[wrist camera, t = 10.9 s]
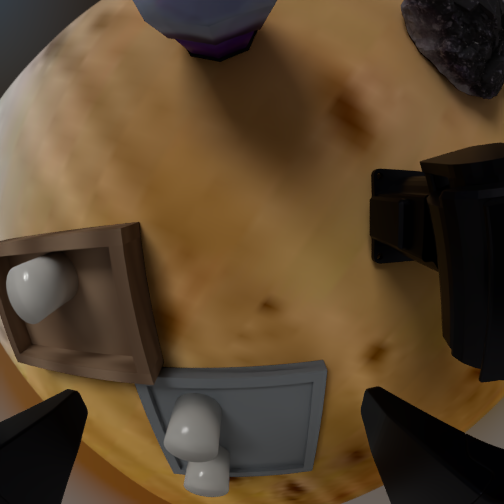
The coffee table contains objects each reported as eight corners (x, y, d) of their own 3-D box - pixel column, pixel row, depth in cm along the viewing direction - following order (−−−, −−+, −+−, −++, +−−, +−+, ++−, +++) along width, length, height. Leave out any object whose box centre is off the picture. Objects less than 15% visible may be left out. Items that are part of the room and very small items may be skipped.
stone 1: (82, 302, 18) (50, 327, 14) (47, 299, 18) (14, 320, 13) (73, 250, 17) (36, 266, 13) (38, 251, 17) (1, 266, 13)
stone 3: (233, 447, 21) (232, 483, 17) (226, 466, 22) (224, 499, 18) (191, 439, 21) (185, 475, 17) (188, 459, 22) (182, 492, 18)
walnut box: (139, 222, 18) (120, 228, 15) (163, 362, 20) (153, 385, 17) (5, 239, 17) (-16, 246, 15) (33, 347, 20) (17, 361, 17)
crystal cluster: (504, 102, 16) (566, 83, 6) (439, 107, 16) (529, 68, 6) (447, 4, 14) (492, -32, 4) (363, -13, 14) (407, -77, 4)
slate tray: (323, 359, 20) (327, 370, 19) (310, 461, 23) (312, 470, 22) (137, 365, 20) (131, 375, 19) (176, 464, 23) (174, 473, 22)
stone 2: (207, 387, 20) (200, 428, 15) (229, 418, 20) (227, 458, 16) (166, 398, 20) (153, 436, 15) (189, 427, 21) (182, 464, 16)
